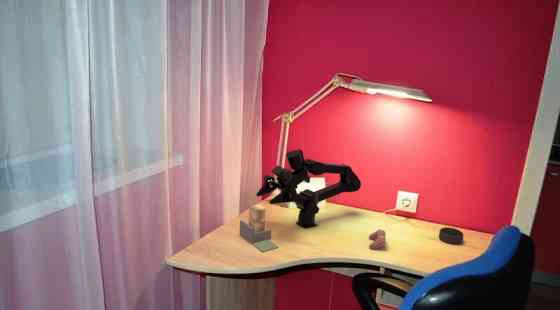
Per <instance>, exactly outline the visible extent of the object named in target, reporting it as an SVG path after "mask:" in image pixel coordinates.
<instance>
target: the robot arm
mask: <svg viewBox="0 0 560 310" xmlns="http://www.w3.org/2000/svg"><path fill="white" fill-rule="evenodd" d="M285 157H286V161H287V163H288V164H287V165H288V167H289V168H286V169H285V168H284V167H282V166H280V165H277V164H276V165H275V167H274V168H273V169H272V170H271V172H272V174H274V175H275V177H274V176H272V175H270V174H266V175H264V176H263V184H262V186H261V187H260V188H259V190H258V191H257V192H256V197H257V198H258V197H261V196H264V195H267V194H271V193H273V191H276V190H279V191H280V192H279V193H278V194H277V195H276V196H274V197H273V198H272V199H270V200H269V202H268V203H269V205H276V204H283V203H293V204H295V206H296V208H297V209H298V210H299V213H298V216H297V221H296V224H297V225H299V227H302V228H304V229H309V228H314V227H317V226H318V224H317V223H316V222H315V221H316V214H319V211H320V206H318V204H319V203H321V202H323V201H326V200H327V199H330V198H332V197H335V196H338V195H340V194H344V193H355V192H358V191H359V190H360V189H361V187H362V182H361V180H360V178H359V176H357V174H356V173H355V172H354V171H353V168H352V167H351V166H349V165H347V164H345V163H330V162H322V161H318V160H316V159H312V158H306V159H305V157H304V153H303V150H302V149H300V148H298V149H294V150H290V151H288V152H287V153H285ZM291 170H292V171H291ZM309 174H310V175H312V176H321V175H323V174H334V175H335V174H337V175H339V181H338V182H336V183H333V184H331V185H328V186H326V187H323V188H320V189H318V190H316V191H313V190H311V189H309V188H306V189H304V190H303V191H302V190H300V191H299V192H298V191H297V189H298V188H299V187H298V185H300V184H301V183H303V182H304V183H307V184H310V182H311V176H310V175H309Z"/></svg>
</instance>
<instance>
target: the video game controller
mask: <svg viewBox="0 0 560 310" xmlns="http://www.w3.org/2000/svg"><path fill="white" fill-rule="evenodd" d="M386 236H387V235H386V230H384V229H381V228H379V229H378V230H376V231H374V232H372V233H371V234H369V236H368V240H371V241H373V242H371V243H370V244H369V246H368V248H369V249H370V250H376V249H379V248H380V247H382V246H384V245H385V244H386V243H387V242H386V241H387V240H386V239H387V238H386Z"/></svg>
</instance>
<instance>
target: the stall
mask: <svg viewBox="0 0 560 310" xmlns="http://www.w3.org/2000/svg"><path fill="white" fill-rule="evenodd" d="M239 235H240V236H241V237H242V238H243V239H244V240H246V241H247V242H248V243H250V244H251V245H252V243H256V242H260V241H264V240H270V239H272V229H271V228H270V229H265V231H261V232H257V233H254V228H253V227H251V226H250V225H249V223H248V222H246V221H244V219H243V220H242V219H240V220H239Z"/></svg>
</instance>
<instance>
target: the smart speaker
mask: <svg viewBox="0 0 560 310" xmlns="http://www.w3.org/2000/svg"><path fill="white" fill-rule="evenodd" d="M438 233H439V234H438V238H439V239H440V240H441V242H444V243H447V244H450V245H460V244H462V243H463V241H464V233H463V232H462V231H461V230H460V229H457V228H454V227H449V226H448V227H447V226H445V227H441V228H440V229H439V232H438Z"/></svg>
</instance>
